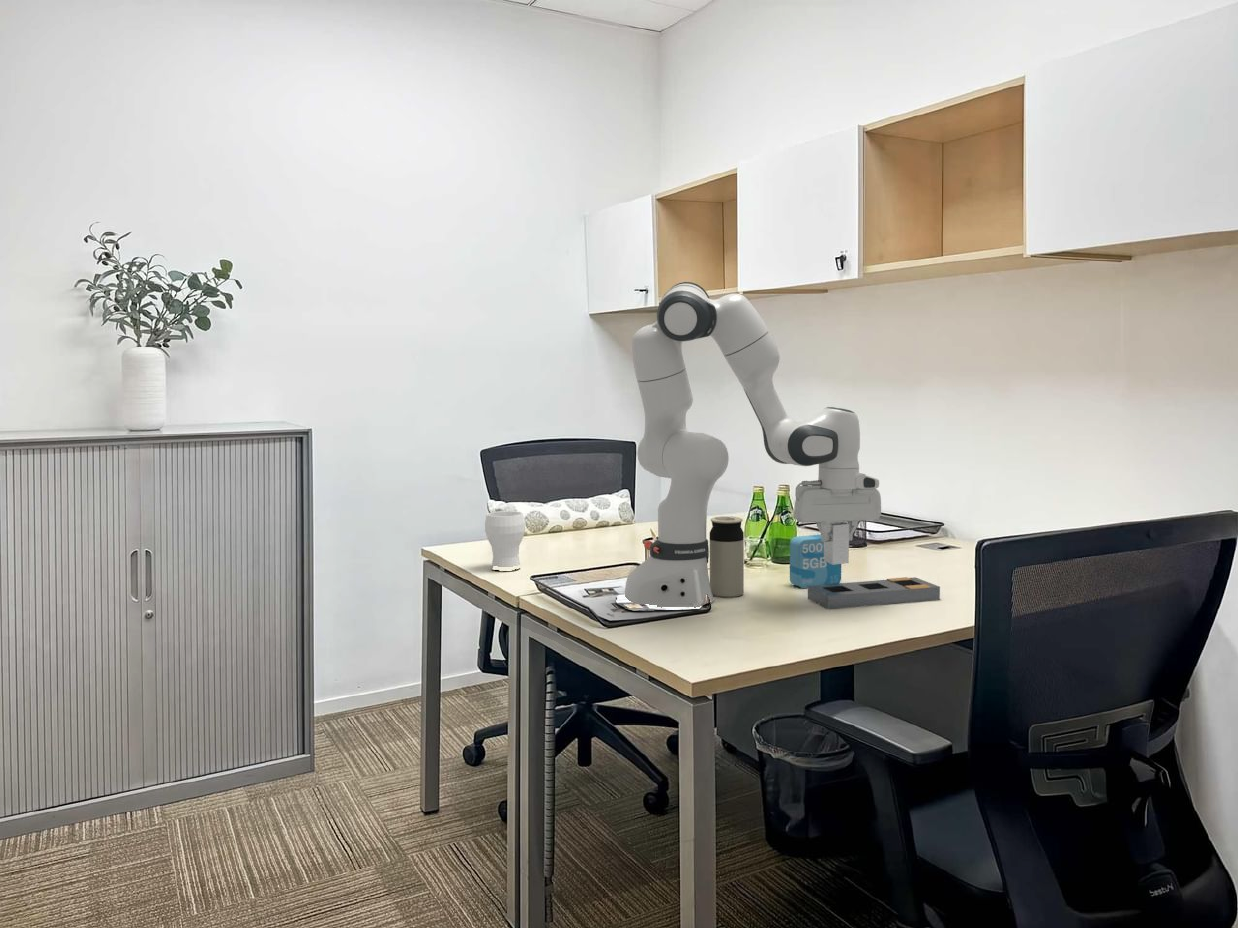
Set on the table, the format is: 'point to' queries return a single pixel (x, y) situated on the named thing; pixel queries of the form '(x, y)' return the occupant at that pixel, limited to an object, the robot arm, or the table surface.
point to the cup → (505, 536)
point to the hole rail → (873, 593)
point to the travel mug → (726, 557)
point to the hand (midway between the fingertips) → (836, 540)
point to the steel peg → (837, 543)
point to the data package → (811, 563)
